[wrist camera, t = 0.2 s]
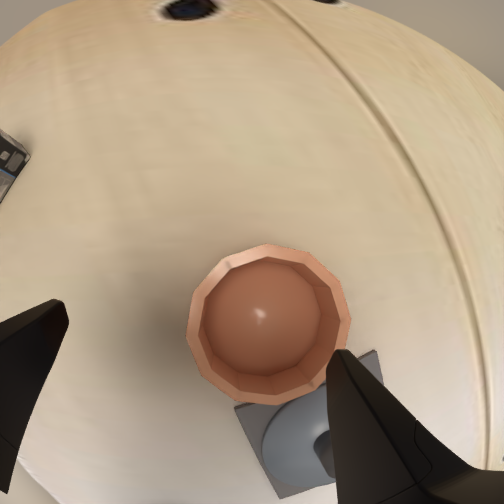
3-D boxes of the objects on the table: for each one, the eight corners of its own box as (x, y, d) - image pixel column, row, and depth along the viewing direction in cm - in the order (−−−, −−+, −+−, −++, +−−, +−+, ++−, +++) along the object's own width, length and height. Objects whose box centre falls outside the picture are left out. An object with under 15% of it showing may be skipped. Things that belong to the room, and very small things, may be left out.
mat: (391, 446, 22) (393, 448, 22) (278, 496, 21) (279, 499, 20) (373, 349, 23) (376, 351, 23) (234, 407, 22) (234, 410, 21)
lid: (389, 448, 22) (411, 468, 17) (282, 495, 20) (292, 524, 15) (373, 357, 22) (402, 372, 18) (241, 412, 21) (246, 442, 16)
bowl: (338, 352, 23) (363, 367, 18) (223, 395, 22) (222, 422, 17) (301, 236, 23) (320, 225, 19) (178, 277, 22) (164, 277, 17)
